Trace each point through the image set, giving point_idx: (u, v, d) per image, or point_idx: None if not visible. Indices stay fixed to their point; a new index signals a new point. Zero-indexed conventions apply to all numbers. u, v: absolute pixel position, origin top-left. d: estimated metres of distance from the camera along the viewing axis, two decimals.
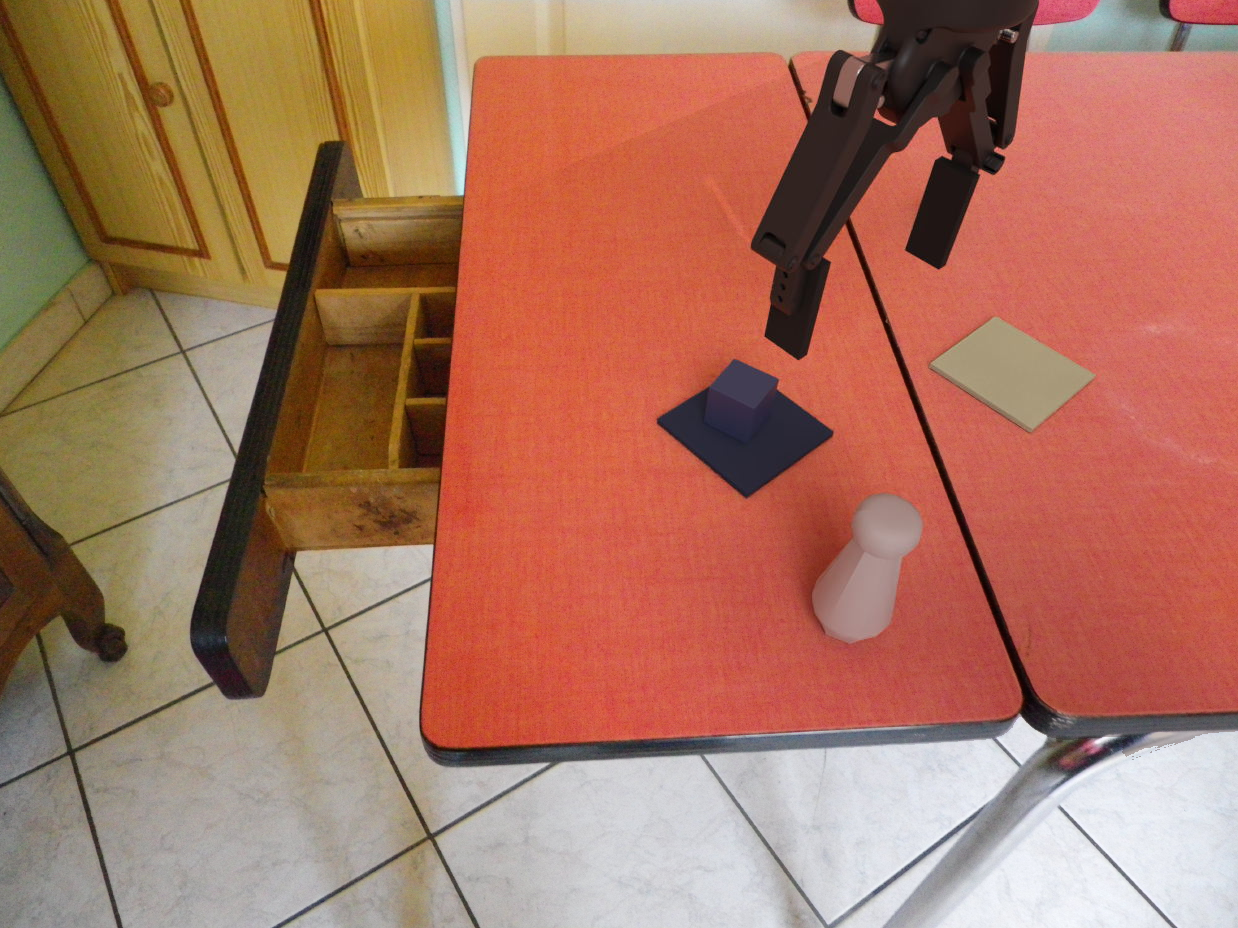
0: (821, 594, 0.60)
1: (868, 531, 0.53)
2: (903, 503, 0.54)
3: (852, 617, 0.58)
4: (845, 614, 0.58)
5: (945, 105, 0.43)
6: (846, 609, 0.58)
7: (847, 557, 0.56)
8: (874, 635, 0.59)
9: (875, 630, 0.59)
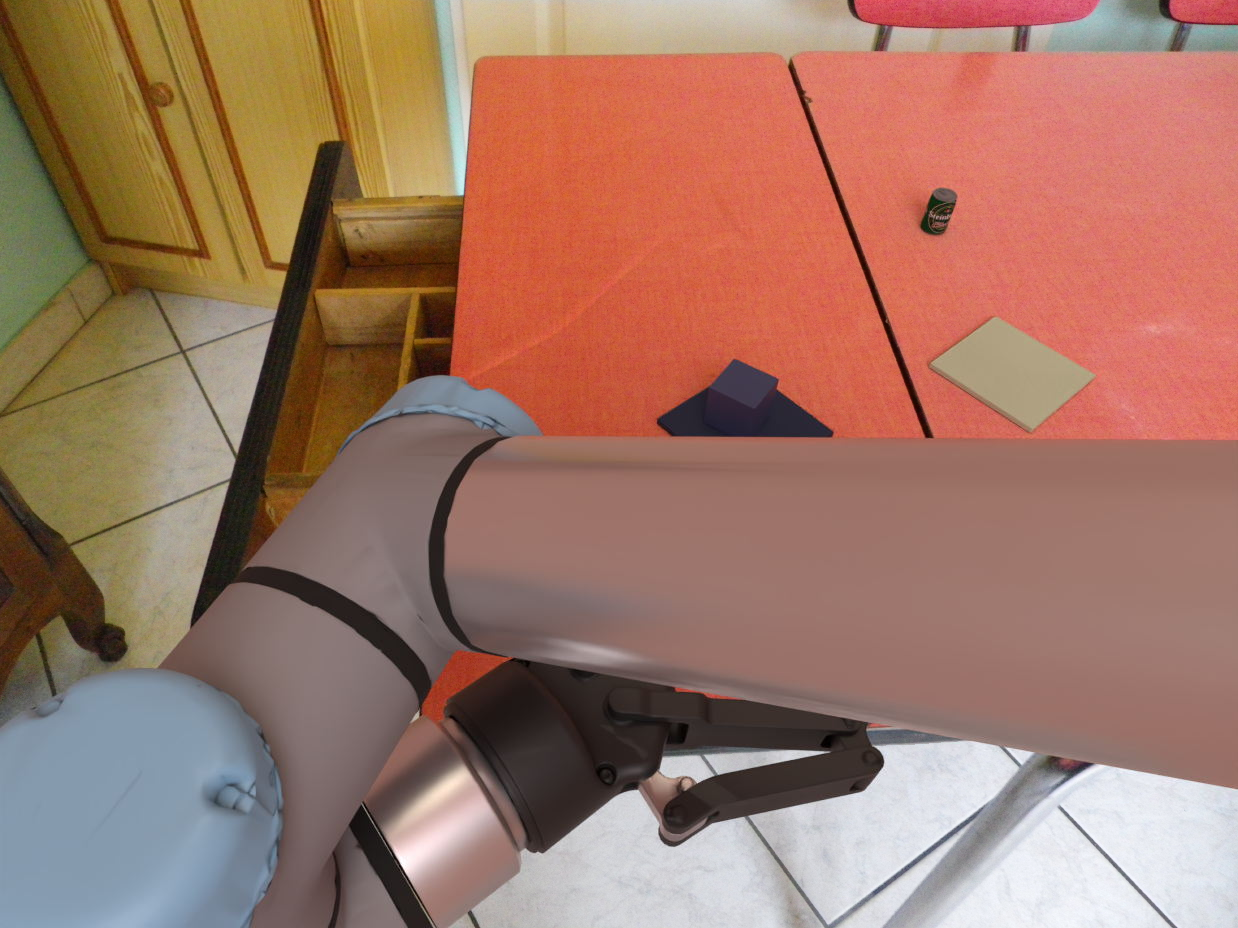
0: None
1: None
2: None
3: None
4: None
5: None
6: None
7: None
8: None
9: None
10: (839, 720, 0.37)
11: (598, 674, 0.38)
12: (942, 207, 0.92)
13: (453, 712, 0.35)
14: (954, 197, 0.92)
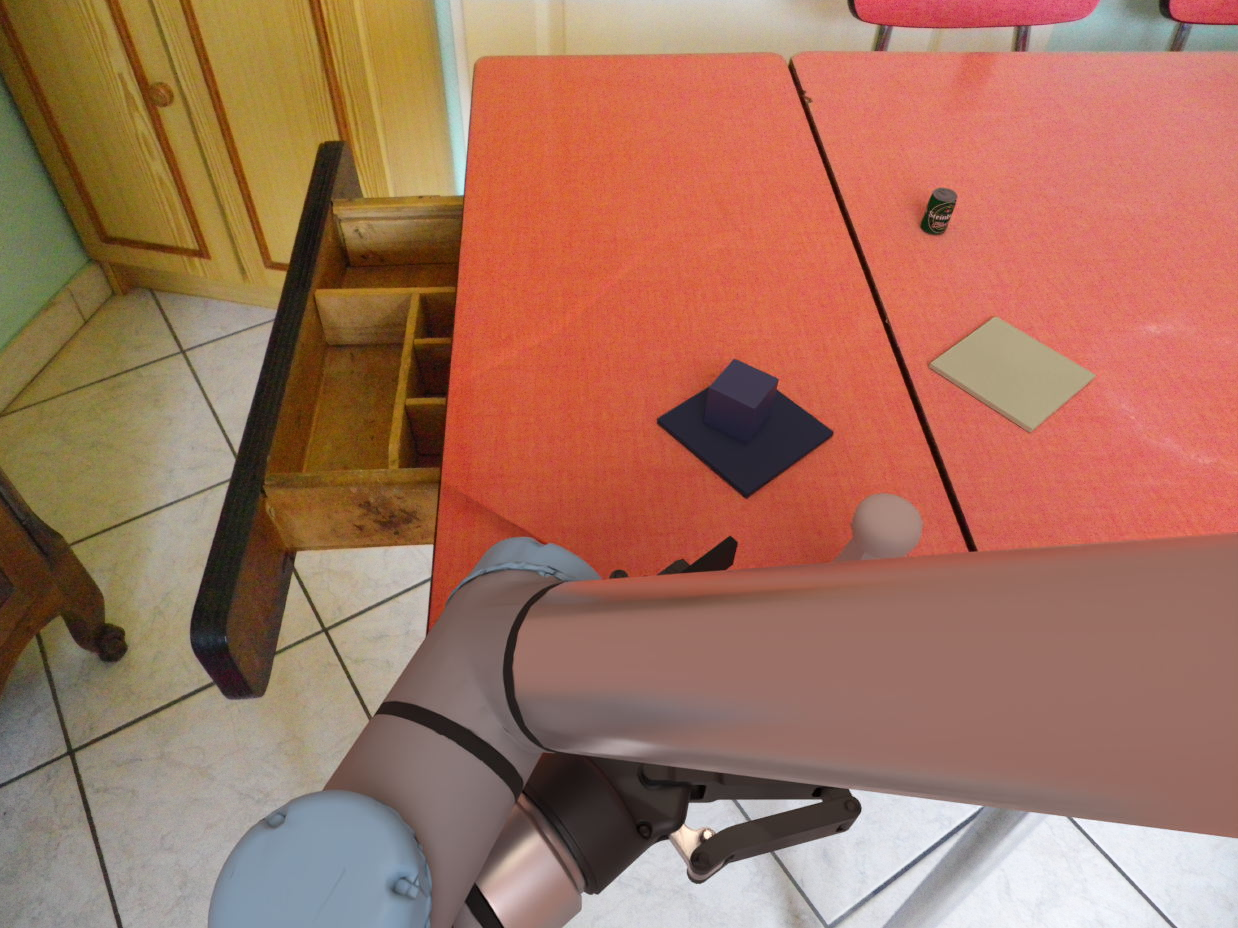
0: None
1: (868, 531, 0.53)
2: (903, 503, 0.54)
3: None
4: None
5: None
6: None
7: (847, 557, 0.56)
8: None
9: None
10: None
11: None
12: (942, 207, 0.92)
13: (522, 787, 0.45)
14: (954, 197, 0.92)
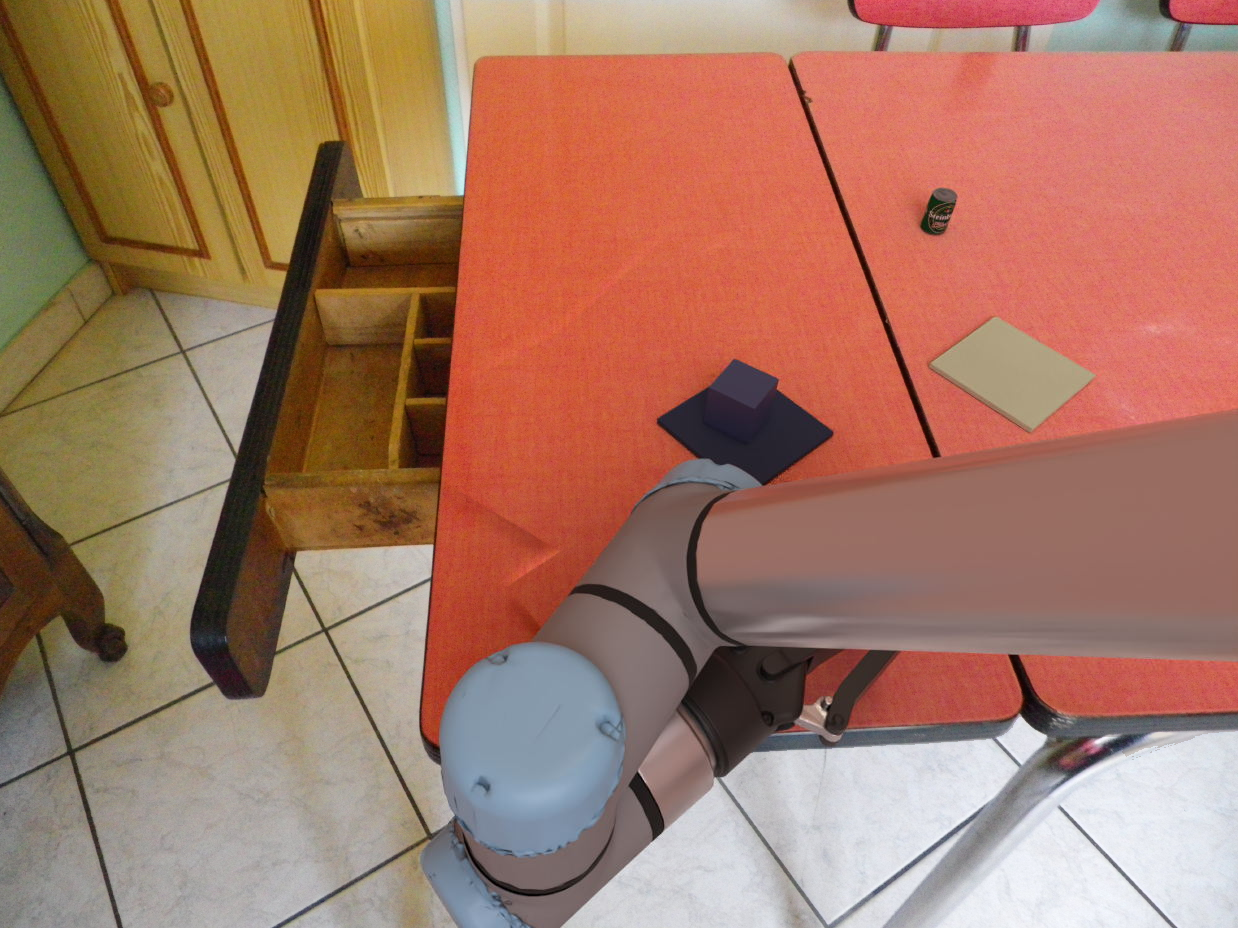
0: None
1: None
2: None
3: None
4: None
5: None
6: None
7: None
8: None
9: None
10: None
11: (744, 651, 0.52)
12: (942, 207, 0.92)
13: None
14: (954, 197, 0.92)
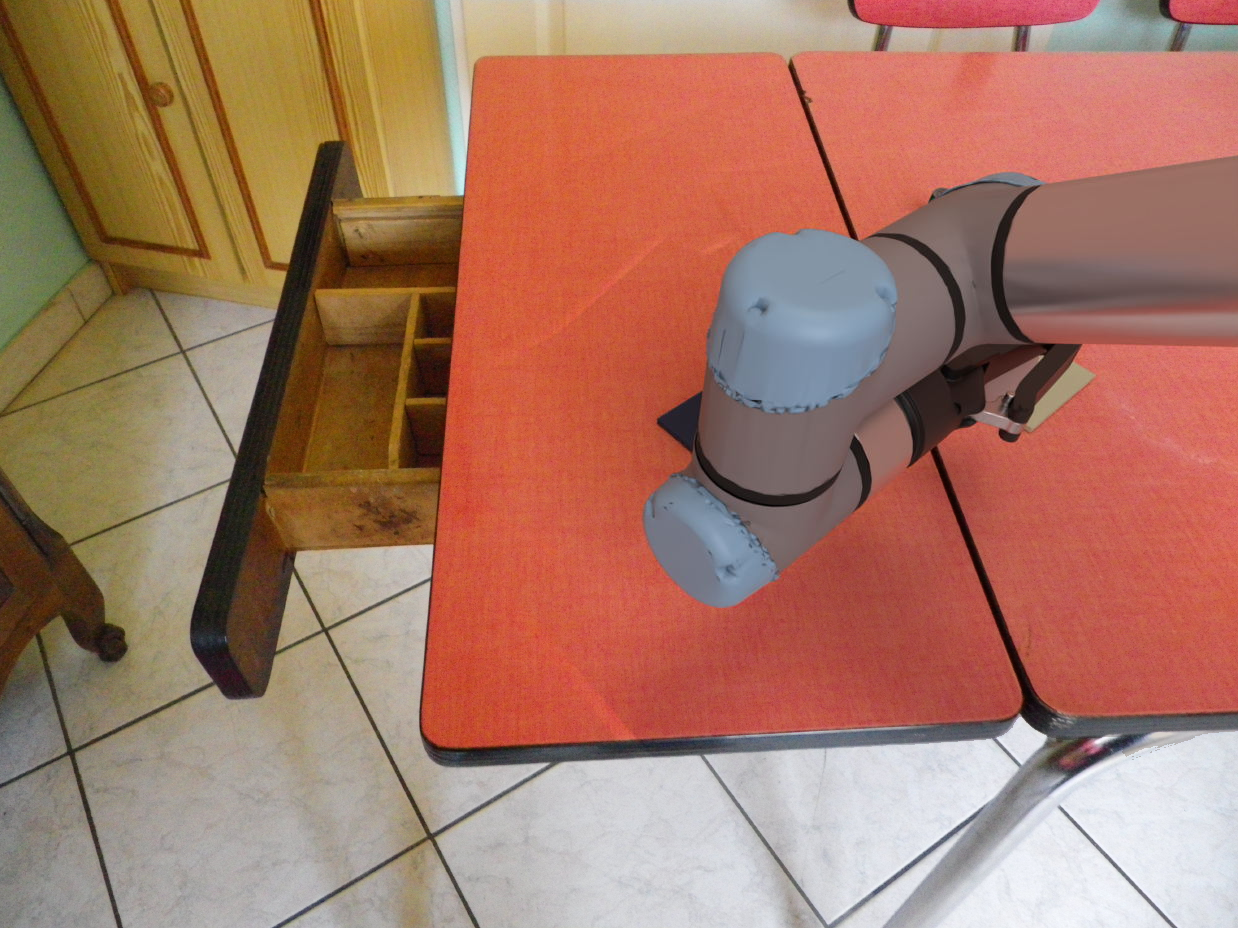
0: None
1: None
2: None
3: None
4: None
5: None
6: None
7: None
8: None
9: None
10: None
11: None
12: None
13: None
14: None
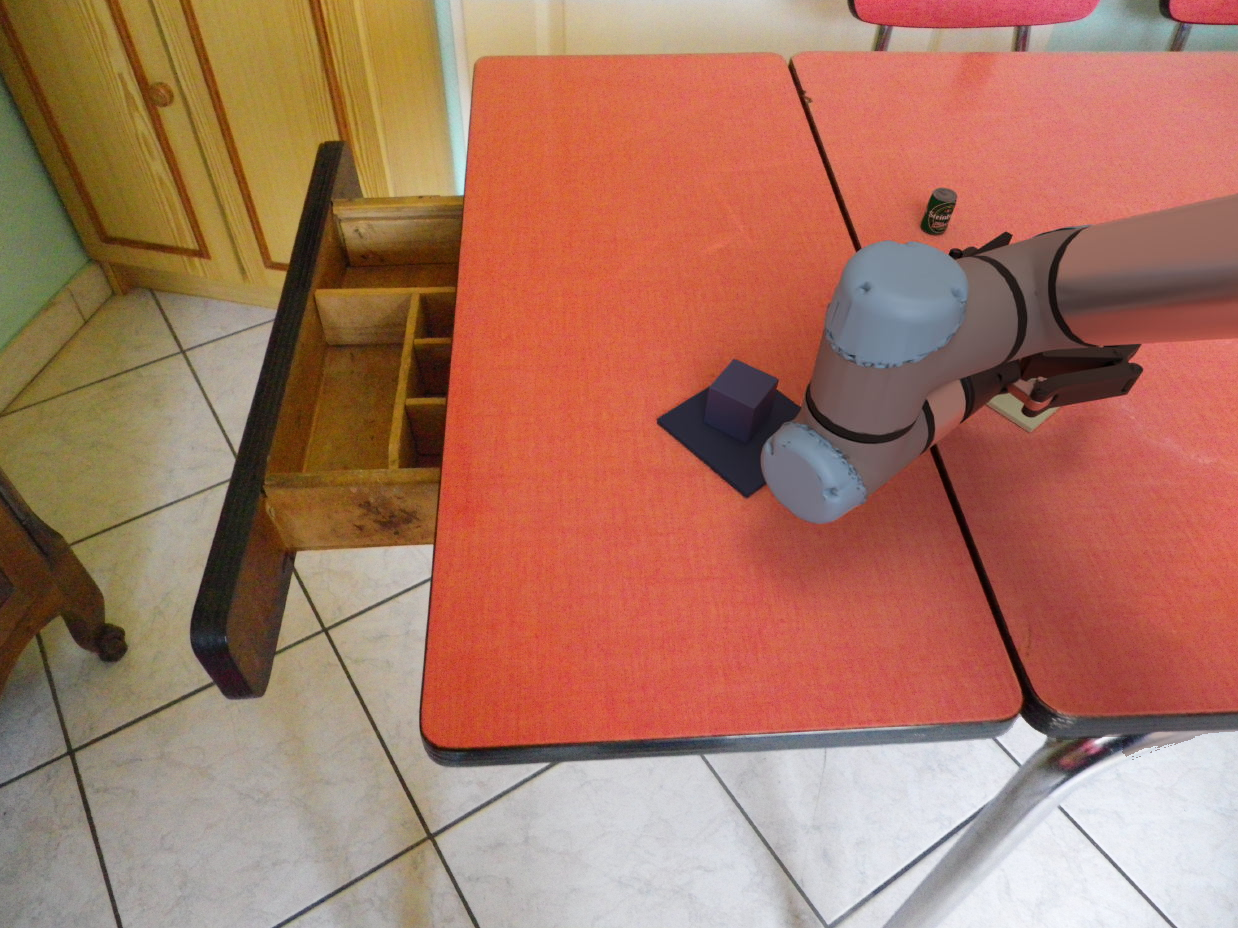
0: None
1: None
2: None
3: None
4: None
5: None
6: None
7: None
8: None
9: None
10: (1113, 353, 0.67)
11: None
12: (942, 207, 0.92)
13: None
14: (954, 197, 0.92)
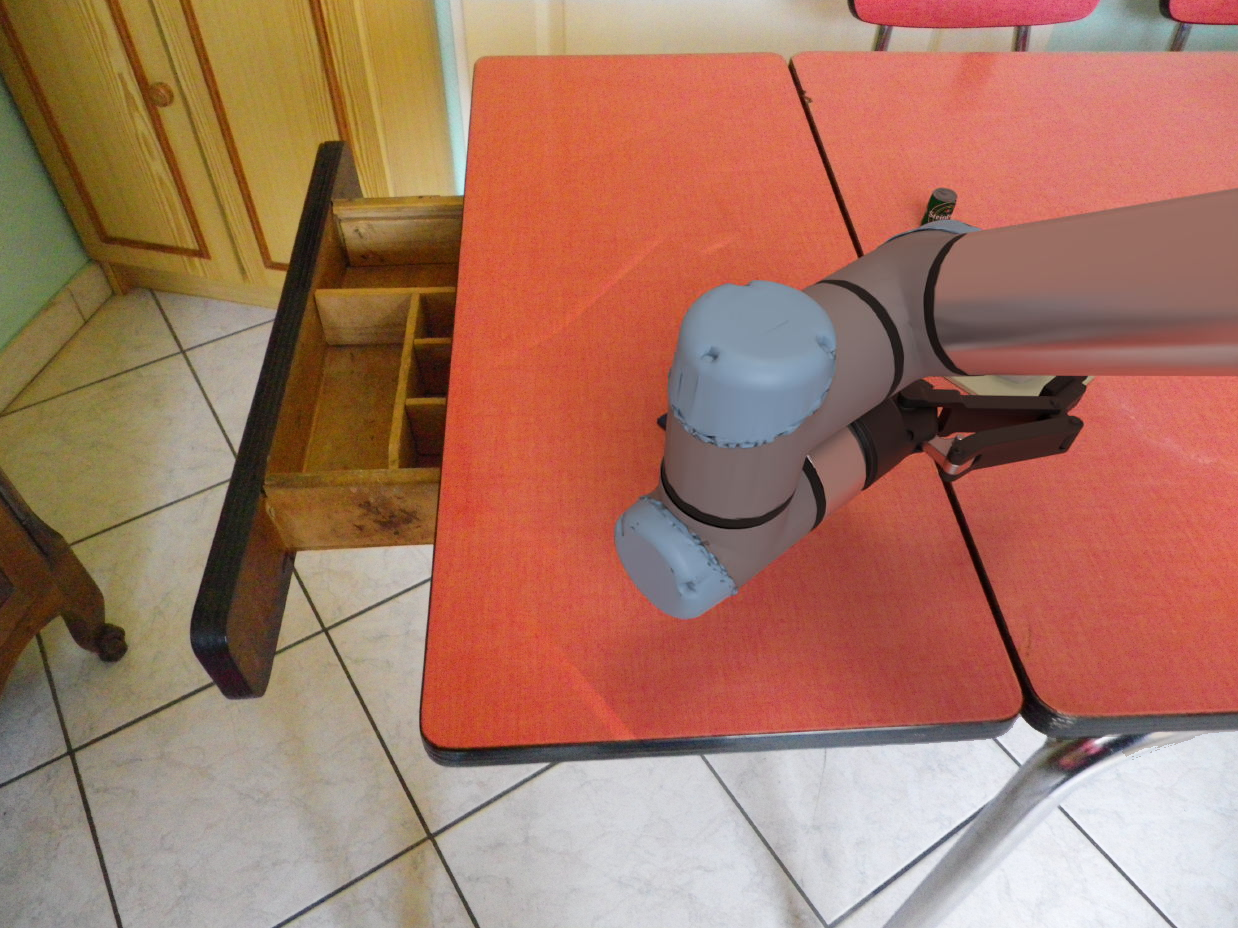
0: None
1: None
2: None
3: None
4: None
5: None
6: None
7: None
8: None
9: None
10: (1049, 404, 0.56)
11: None
12: (942, 207, 0.92)
13: None
14: (954, 197, 0.92)
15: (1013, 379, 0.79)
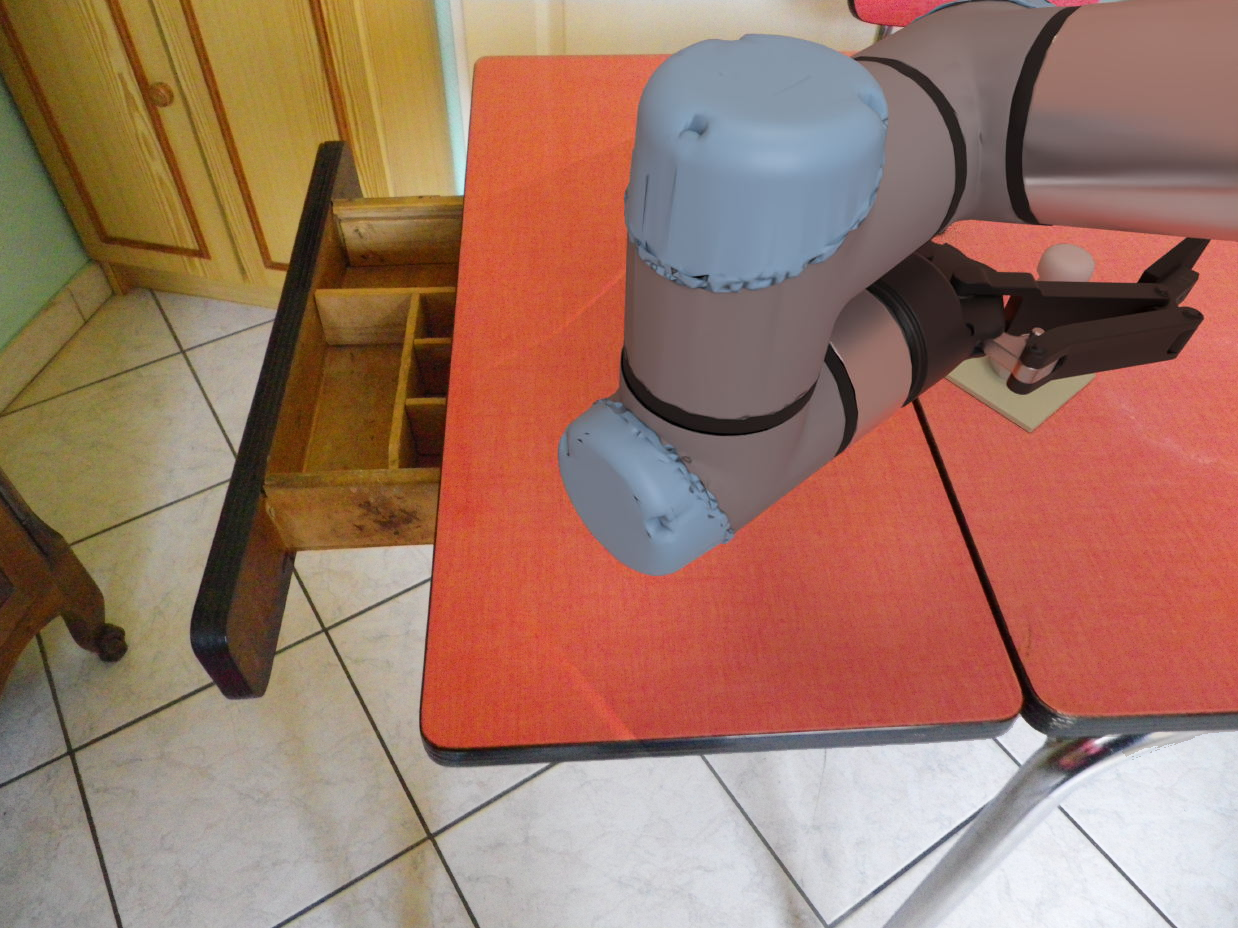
0: None
1: (1055, 265, 0.70)
2: (1080, 248, 0.71)
3: None
4: None
5: (951, 252, 0.44)
6: None
7: None
8: None
9: None
10: (1154, 292, 0.42)
11: None
12: None
13: None
14: None
15: None
